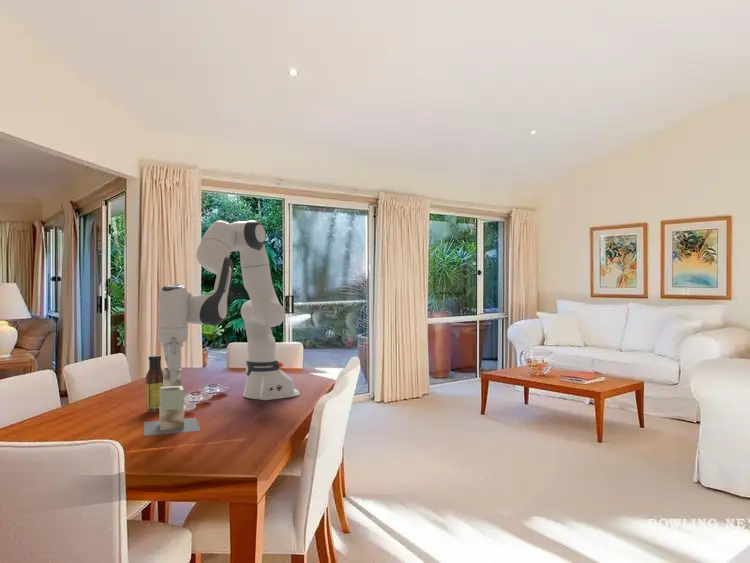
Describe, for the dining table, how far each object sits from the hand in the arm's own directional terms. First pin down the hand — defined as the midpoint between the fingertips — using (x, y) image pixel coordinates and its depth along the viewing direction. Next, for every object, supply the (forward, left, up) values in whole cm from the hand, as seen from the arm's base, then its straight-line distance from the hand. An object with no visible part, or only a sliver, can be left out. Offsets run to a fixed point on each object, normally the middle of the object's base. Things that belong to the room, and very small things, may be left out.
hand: (172, 379), depth 171 cm
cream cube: (0, 0, -2) cm, 2 cm away
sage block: (0, 0, -9) cm, 9 cm away
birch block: (0, 0, -15) cm, 15 cm away
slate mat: (0, 0, -15) cm, 15 cm away
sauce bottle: (+4, -23, -16) cm, 28 cm away
